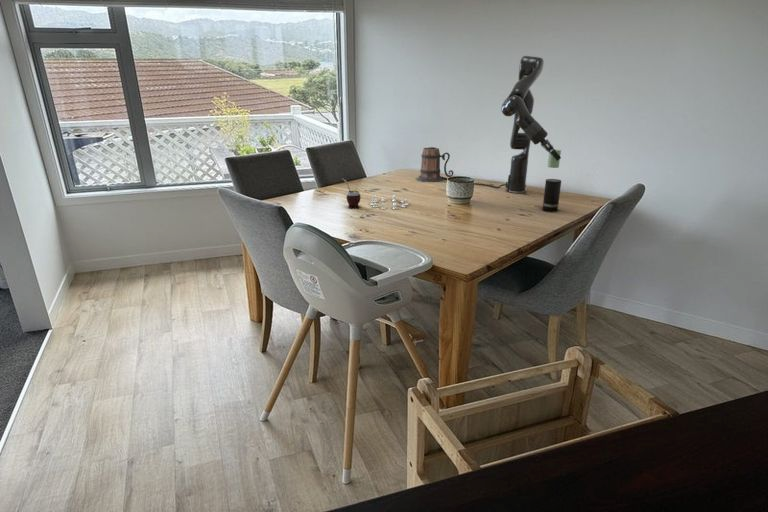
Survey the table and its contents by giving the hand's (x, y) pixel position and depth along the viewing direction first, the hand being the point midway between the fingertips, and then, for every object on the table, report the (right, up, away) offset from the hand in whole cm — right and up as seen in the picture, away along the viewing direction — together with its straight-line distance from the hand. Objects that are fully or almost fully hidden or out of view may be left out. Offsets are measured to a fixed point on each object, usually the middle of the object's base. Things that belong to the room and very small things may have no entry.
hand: (558, 158), depth 226 cm
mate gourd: (-99, -22, +14) cm, 102 cm away
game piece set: (-80, -20, +20) cm, 85 cm away
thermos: (-1, -24, +10) cm, 26 cm away
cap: (-2, -4, +2) cm, 5 cm away
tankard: (-50, +3, +82) cm, 96 cm away
